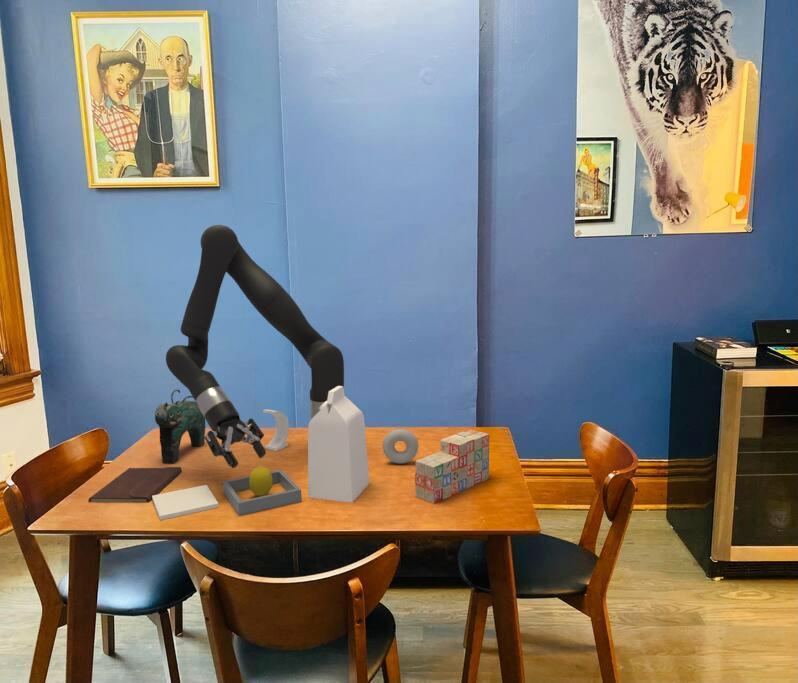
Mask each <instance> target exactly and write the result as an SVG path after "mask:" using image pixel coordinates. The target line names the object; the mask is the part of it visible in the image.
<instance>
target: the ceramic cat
mask: <svg viewBox="0 0 798 683" xmlns="http://www.w3.org/2000/svg"><path fill="white" fill-rule="evenodd" d="M175 392H178V394H180V393H181V390H180V389H174V390H173V391H172V392H171V396H170V397H171V403H168V402H167V401H166V402H165V403H161V404H159V405H158V406H157V407H156V408H155V412H154V420H155V423H156V424H157V425H158V428H159V444H160V451H161V461H162V464H167V465H169V464H170V465H173V464H175V463H177V462H179V458H180V457H179V456H180V446H181V443H182V442H181V441H182V438H183V435H184V434H185V433H186V432H187V433H188V436H189V440H190V445H191V447H193V448H194V447H195V448H200V447H203V446H204V445H205V442H206V440H205V436H206V419H205V418H204V416H203V415H202V413H201V411H200V410H199V407H198V405H197V403H196V401H195V400H186V399H188V398H193V396H192V395H188V396H186V397H184V398H183V399H182V400H177V401H175V402H174V399H173V398H174V397H173V396H174V394H175Z"/></svg>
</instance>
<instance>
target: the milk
mask: <svg viewBox="0 0 798 683" xmlns="http://www.w3.org/2000/svg"><path fill="white" fill-rule="evenodd" d="M344 389H345V387H344V388H343V386H337V387H336V388H334V389H332V390H330V391H329V393H328V399H327V401H326V402H324V403H323V404H322V405H321V406H320V408H319V409H320V411H319V412H318V413H317V414H316V415H315V416H314V417H313V418H312V419H311V418H310V421H309V422H308V426H307V429H308V430H307V433H308V434H307V438H308V439H307V441H308V442H307V447H308V448H307V457H308V458H307V460H308V461H307V462H308V463H307V471H308V472H307V476H308V477H307V487H308V488H307V498H310V499H317V500H318V499H319V500H327V501H328V500H329V501H337V502H343V503H353V502H355V500H356V499H357V498H358V497H359V496H360V495H361V494H362V492H363V491H364V490H365V489H366V488H367V487H368V486H369V484H370V476H369V475H370V474H369V461H368V450H367V436H366V428H365V427H366V425H365V416H364V414H363V412H362V410H360V409H359V407H357V405H355V403H353V402H352V400H350V399H349V398H348V397H347V396H345V395H346V394H345V390H344Z"/></svg>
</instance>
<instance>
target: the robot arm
mask: <svg viewBox="0 0 798 683" xmlns="http://www.w3.org/2000/svg"><path fill="white" fill-rule="evenodd" d="M200 246H201V253H200V254H201V256H200V261H199V262H200V263H199V268H198V273H197V276H196V280H195V283H194V285H193V288H192V291H191V293H190V296H189V297H188V298H189V299H188V301H187V305H186V308H185V311H184V314H183V317H182V322H181V325H180V332H181V334H182V335H183V336H185V337H187V339H188V340H187V345H183V344H182V345H181V344H180V345H179V344H177V345H173V346H171V347H170V348H168V350H167V351H166V355H165V363H166V367H167V369H168V370H169V372H170V373H171V374H172V375H173V376H174V377H175V378H176V379H177V380H178V381H179V382H180V383H181V384H182V385H183V386H184V387H186V388H187V390H188V391H189V393H190V396H193V397H192V398H193V400H194V401H195V402H196V403H197V405H198V407H199V410H200V411H201V413H202V415H203V416H204V418H205V422H206V423H207V425H208V426H209V428H210V429H211V430H209V431H208V432H207V434H205V442H206V444H207V445H208V447H209V449H210V451H211V453H212V454H213V457H219V456H221V457H223V459H224V460H225V461H226V463H227V465H228V466H229V467H231V469H235V468H236V467H238V465H239V462H238V460H237V458H236V456H235V455H234V454H233V451H232V450H231V449H230V448H231V445H234V444H235V443H240V442H241V443H242V442H243V443H245V444H246V443H247V444H249V445H251V446H252V448H253V450H254V452H255V454H257V456H258V458H259V459H262V458H264V457H265V456H266V454H267V453H266V452H267V451H266V449H265V446H263V444H262V442H261V440H262V439H263V437H264V436H265V434H264V432H262V429H261V428H260V427H259V426H258V424H257V422H255V419H253V418H249V419H248V420H247V421H242V420H241V418H240V414H239V412H238V411H237V408H236V407H235V406H234V404H233V403H232V401H231V399H230V398H229V396H228V394H226V391H224V390H223V388H222V387H221V386H220V384H219V383H218V380H217V379H216V377H215V376H214V375H213V374H212V373H211V372H210V371H208V370H205V369H203V368H204V367H205V366H206V364H207V361H208V359H209V358H208V356H209V333H210V329H211V326H212V323H213V319H214V315H215V311H216V308H217V307H216V306H217V302H218V298H219V295H220V290H221V287H222V284H223V280H224V279H225V276H226V273H227V274H228V276H230V277H231V278H232V280H234V282H235V283H236V284H237V286H238V287H239V288H240V290H241V292H242V293H243V294H244V295H245V297H246V298H247V300H248V301H249V303H251V305H252V307H254V309H256V311H257V312H258V313H259V314H260V315H261V317H263V318H264V319H265V320H266V321H267V323H268V324H270V325H271V326H272V327H273V328H274V329H275V330H277V332H278V333H280V334H281V335H282V336H283V337H285V339H287V340H288V341H289V342H290V343H291V344H292V346H293V347H294V348H295V349H296V350H297V351H298V352H299V354H300V355H301V357H302V358H303V359H304V361H305V362H306V364H307V366H309V368H310V369H311V370H310V372H311V388H310V389H309V403H310V404H309V405H310V408H309V409H310V411H309V412H310V420H311V419H312V418H313V417H314V416H315V415H316V414H317V413H318V412H319V411H320V409H319V408H320V406H321V405H322V404H323V403H324V402H326V401H327V399H328V393H329V391H330V390H332V389H334V388H336V387H337V386H343V388H344V389H345V362H344V355H343V352H342V350H340V348H339V347H337V346H336V345H334V344H332V343H331V342H329V341H328V340H327V339H326V338H324V337H323V336H322V335H321V334H320V333H319V332H318V331H317V330H316V329H315V328H314V327H313V326H312V325H311V324H310V322H309V321H308V320H307V318H306V316H305V314H304V313H303V311H302V310H301V308H300V307H299V305H298V303H297V302H296V301H295V300H294V298H293V297H292V296H291V295H290V294H289V293H288V292H287V291H286V290H285V289H284V287H283V286H282V285H281V284H280V283H279V282H278V281H277V280H276V279H275V278H273V276H272V275H270V274H269V273H268V272H267V271H266V270H265V269H263V268H262V267H261V266H260V265H259V264H257V263H256V262H255V261H254V260H253V259H252V257H251V256H250V254H248V253H247V252H246V250H245V249H244V247H243V246H242V245H241V244H240V242H239V239H238V236H237V234H236V233H235V231H234V230H233V229H232V228H231V227H229V226H227V225H223V224H215V225H211V226H209V227H208V228H206V229H205V230H204V231H203V233H202V234H201V237H200ZM218 439H219V440H221V443H220V442H219V441H218Z"/></svg>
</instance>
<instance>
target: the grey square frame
mask: <svg viewBox="0 0 798 683" xmlns="http://www.w3.org/2000/svg"><path fill="white" fill-rule="evenodd" d="M270 473H271V475H272V481H273V484H272V485H275V484H280V485H281V486H282V487H283V489H285V491H281V492H280V491H279V492H276V493H271V494H266V495H264V496H261V497H260V496H257V497H253V498H249V499H244V500H242V499H241V498H240V496H239V495H238V494H237V493H238V492H241V491H247V490H251V489H250V485H249V479H250V475H248V476H244V477H238V478H233V479H228V480H223V481H222V490H223V494H224V495H225V497H226V499H227V500H228V502H229V503H230V505H231V506H232V507H233V509H234V510H235V512H236V514H237V515H238V516H239V517H240V516H245V515H248V514H253V513H257V512H261V511H266V510H267V511H268V510H270V509H275V508H279V507H283V506H284V507H285V506H287V505H292V504H296V503H301V502H302V501H303V500H302V497H303V496H302V489H301V488H300V487H299V486H298V485H297V484H296V483H295V482H294V481H293V479H291V477H289V476H288V475H287V474H286V473H285V472H284V471H283V470H282V469H278V470H273V471H270Z"/></svg>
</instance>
